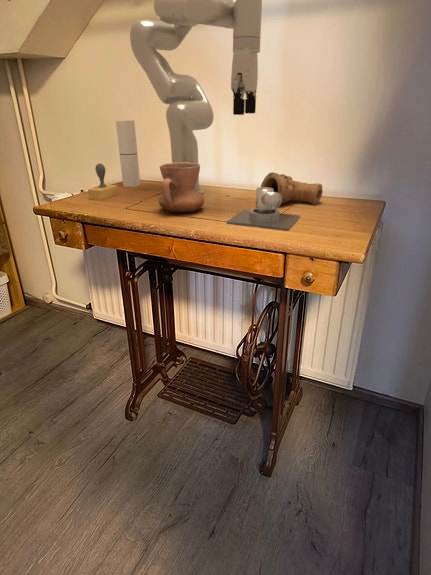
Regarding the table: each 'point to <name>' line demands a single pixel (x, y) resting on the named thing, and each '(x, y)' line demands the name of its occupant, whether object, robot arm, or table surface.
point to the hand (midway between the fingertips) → (244, 114)
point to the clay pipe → (293, 188)
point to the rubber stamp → (102, 186)
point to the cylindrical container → (128, 152)
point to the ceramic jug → (180, 187)
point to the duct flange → (264, 219)
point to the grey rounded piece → (267, 200)
